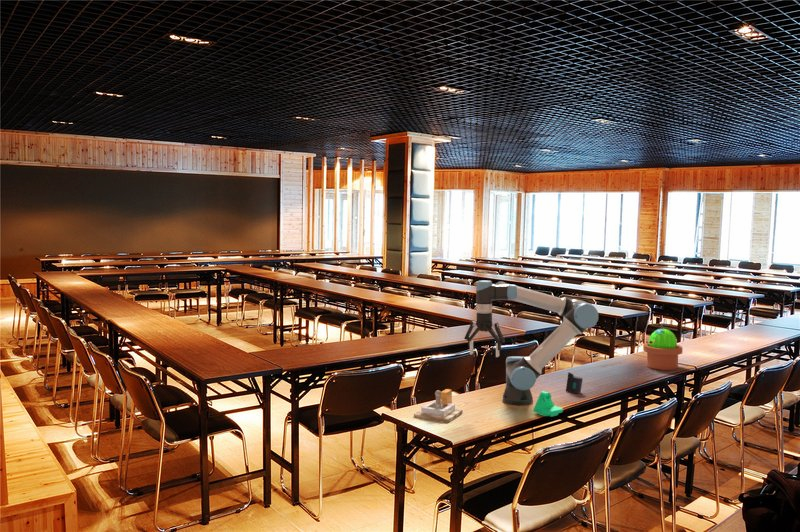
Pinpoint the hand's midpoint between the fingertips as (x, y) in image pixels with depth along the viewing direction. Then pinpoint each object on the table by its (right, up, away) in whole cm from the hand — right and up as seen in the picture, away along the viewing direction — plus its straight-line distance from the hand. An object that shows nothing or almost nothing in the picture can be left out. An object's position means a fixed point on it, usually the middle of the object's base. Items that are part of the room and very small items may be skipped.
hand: (484, 355), depth 286 cm
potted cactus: (+124, -20, +82) cm, 150 cm away
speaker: (+53, -24, +29) cm, 65 cm away
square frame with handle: (-22, -26, -4) cm, 34 cm away
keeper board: (-23, -28, -7) cm, 36 cm away
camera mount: (+30, -27, -7) cm, 41 cm away
